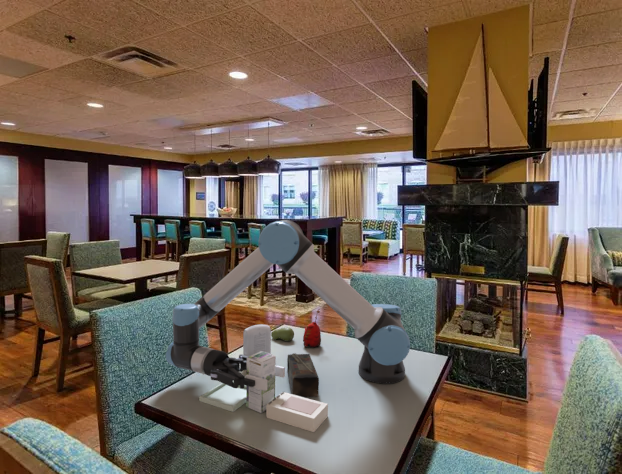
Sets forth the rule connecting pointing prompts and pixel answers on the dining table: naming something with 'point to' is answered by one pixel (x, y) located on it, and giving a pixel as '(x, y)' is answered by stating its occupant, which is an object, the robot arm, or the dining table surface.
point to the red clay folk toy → (312, 334)
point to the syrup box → (262, 368)
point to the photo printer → (256, 339)
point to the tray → (225, 397)
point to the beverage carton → (302, 375)
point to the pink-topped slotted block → (297, 411)
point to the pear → (283, 334)
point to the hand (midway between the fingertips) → (275, 378)
